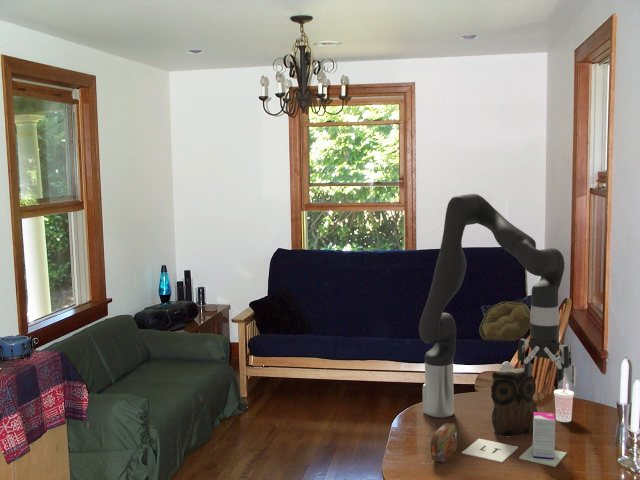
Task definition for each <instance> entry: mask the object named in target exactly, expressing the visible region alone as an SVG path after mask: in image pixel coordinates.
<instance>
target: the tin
mask: <svg viewBox="0 0 640 480" xmlns="http://www.w3.org/2000/svg"><path fill="white" fill-rule="evenodd" d="M458 444H459V430H458V426H457V424H456V423H450V422H449V423H448V422H446V423H443V424H442V425H441V426H440V427H439V428H438V429H436V430H435V432H433V434H432V436H431V439H430V456H431V459H432V460H433V461H434V462H440V463H445V462H446V461H447V460H448V459H449V458H450V457H451V456H452V455H453V454H454V453H455V452H456V451H457V448H458Z"/></svg>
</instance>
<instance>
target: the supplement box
mask: <svg viewBox="0 0 640 480" xmlns="http://www.w3.org/2000/svg"><path fill="white" fill-rule="evenodd" d="M532 431H533V432H532V445H533V450H532V452H533V458H539V459H552V460H553V459H554V451H555V450H556V449H555V447H556V445H555V444H556V443H555V442H556V415H555V413H554V412H553V413H551V412H540V411H538V412H534V419H533V430H532Z"/></svg>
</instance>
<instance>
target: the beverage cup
mask: <svg viewBox="0 0 640 480" xmlns="http://www.w3.org/2000/svg"><path fill="white" fill-rule="evenodd" d="M562 383H563V384H562V388H558V389H554V390H553V395H554V406H555V407H554V408H555V409H554V410H555V421H557V422H561V423H569V422H571V421H572V418H573V417H572V415H573V402H574V400H573V399H574V396H575V392H574V391H572V390H571V389H566V384H565V383H566V376H564V378H563V379H562Z"/></svg>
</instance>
